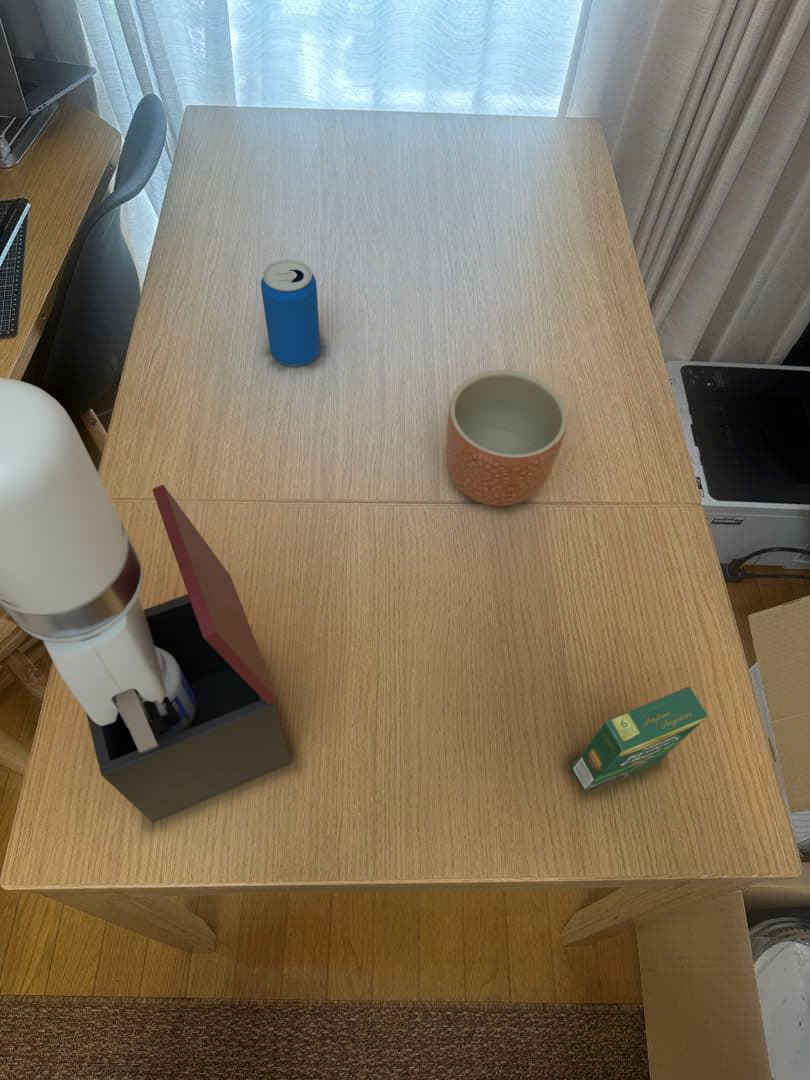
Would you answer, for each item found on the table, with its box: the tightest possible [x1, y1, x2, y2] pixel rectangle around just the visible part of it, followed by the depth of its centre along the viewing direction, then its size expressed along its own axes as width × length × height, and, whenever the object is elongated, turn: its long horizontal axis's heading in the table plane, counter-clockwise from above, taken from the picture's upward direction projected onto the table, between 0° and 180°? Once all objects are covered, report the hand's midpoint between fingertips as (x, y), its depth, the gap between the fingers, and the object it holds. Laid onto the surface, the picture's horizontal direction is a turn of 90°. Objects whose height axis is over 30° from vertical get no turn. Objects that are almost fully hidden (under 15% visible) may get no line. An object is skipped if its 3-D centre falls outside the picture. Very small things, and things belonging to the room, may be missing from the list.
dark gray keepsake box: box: [85, 593, 292, 824], centre depth 62 cm, size 13×12×15 cm
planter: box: [444, 369, 568, 507], centre depth 81 cm, size 12×12×11 cm
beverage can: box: [260, 258, 322, 367], centre depth 91 cm, size 6×6×12 cm
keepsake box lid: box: [152, 484, 279, 704], centre depth 51 cm, size 14×12×1 cm
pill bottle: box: [118, 645, 196, 741], centre depth 57 cm, size 5×5×10 cm
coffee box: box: [570, 686, 708, 794], centre depth 62 cm, size 8×3×13 cm, turn 111°
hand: (148, 690), depth 57 cm, fingers closed on pill bottle, 5 cm apart
